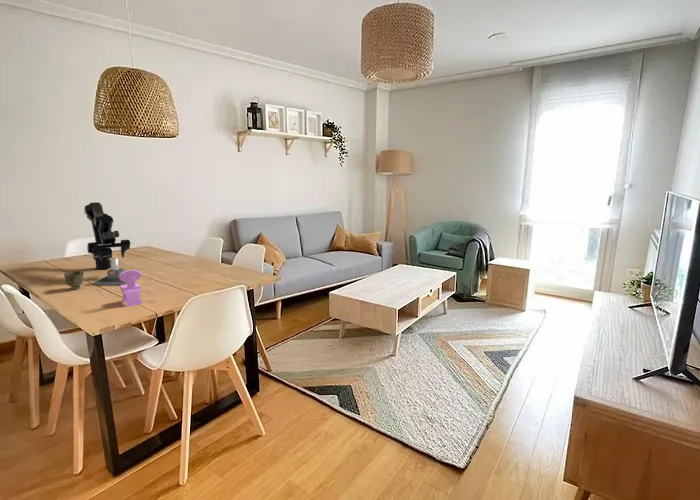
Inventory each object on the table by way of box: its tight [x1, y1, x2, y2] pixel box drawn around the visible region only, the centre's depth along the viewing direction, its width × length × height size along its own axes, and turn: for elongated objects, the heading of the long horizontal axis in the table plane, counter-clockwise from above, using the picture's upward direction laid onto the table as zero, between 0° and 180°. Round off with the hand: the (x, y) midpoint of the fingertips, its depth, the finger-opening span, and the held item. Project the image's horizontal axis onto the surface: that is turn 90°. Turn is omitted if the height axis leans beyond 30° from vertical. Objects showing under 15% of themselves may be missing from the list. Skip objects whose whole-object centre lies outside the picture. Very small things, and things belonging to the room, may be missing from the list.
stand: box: [93, 268, 127, 286], centre depth 189 cm, size 14×14×6 cm
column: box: [110, 257, 120, 271], centre depth 188 cm, size 4×4×12 cm
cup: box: [63, 270, 84, 291], centre depth 175 cm, size 8×7×8 cm
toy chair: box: [119, 269, 143, 308], centre depth 158 cm, size 8×9×15 cm
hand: (113, 259), depth 190 cm, fingers open, 9 cm apart
